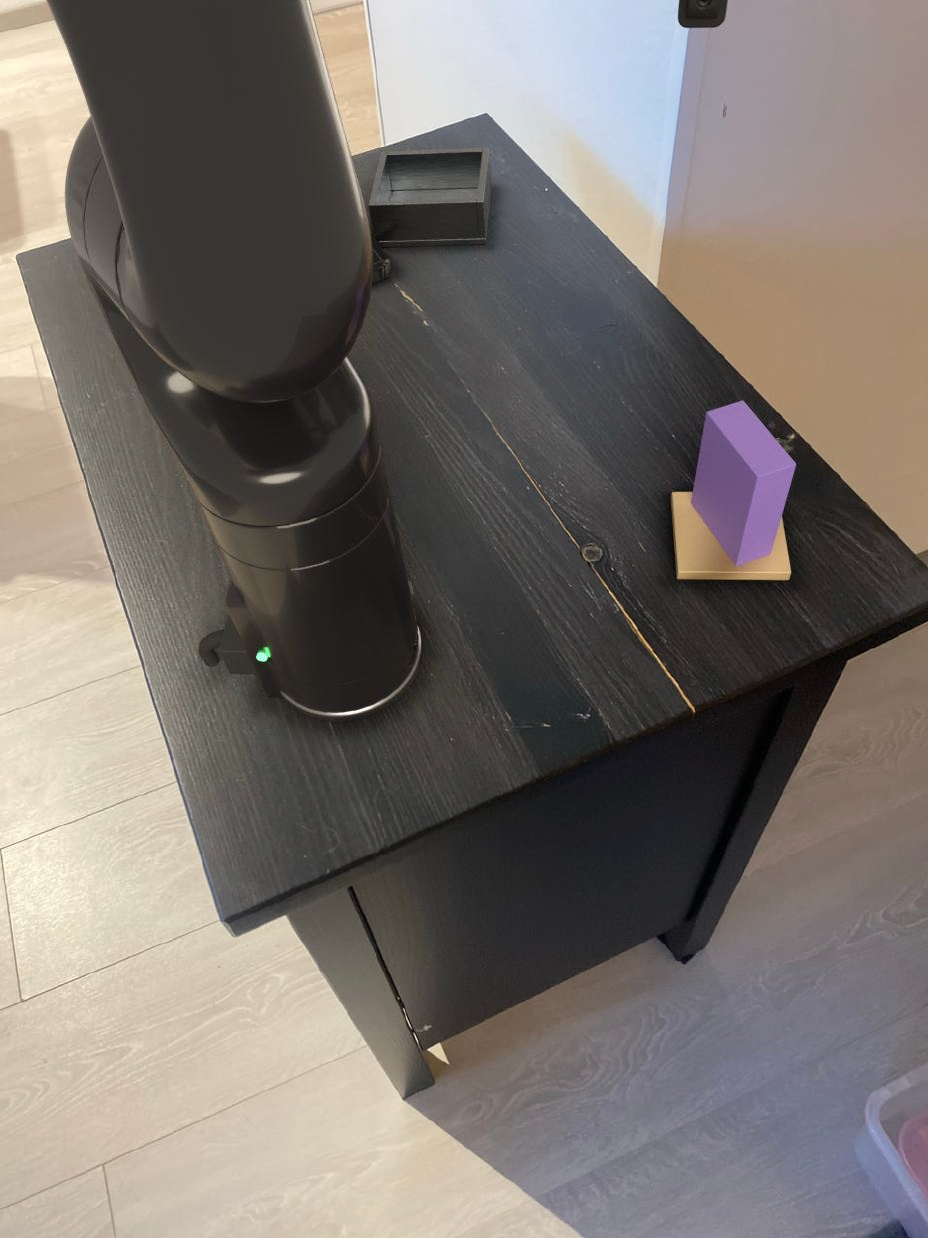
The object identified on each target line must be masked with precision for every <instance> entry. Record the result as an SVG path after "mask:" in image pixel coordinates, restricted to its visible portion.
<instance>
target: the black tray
mask: <svg viewBox="0 0 928 1238" xmlns="http://www.w3.org/2000/svg"><path fill="white" fill-rule="evenodd" d="M490 154H491V153H490V147H465V148H464V147H463V148H445V149H444V148H441V149H438V148H437V149H413V150H388V151H387V150H385V151H384V150H383V151H381V152H380V156H379V161H378V165H377V169H376V173H375V176H374V181H373V186H372V189H371V194H370V198H369V202H368V211H369V217H370V222H371V227H372V235H373V236H374V237H375V239H376V240H377V242H378V243H379V245H380V246H381V247H382V248H398V247H399V248H400V247H405V248H406V247H437V246H438V247H439V246H440V247H441V246H473V245H474V246H475V245H476V246H477V245H479V246H480V245H487V238H488V230H489V229H488V227H489V219H490V209H491V200H492V174H491V158H490V157H491V156H490Z"/></svg>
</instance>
